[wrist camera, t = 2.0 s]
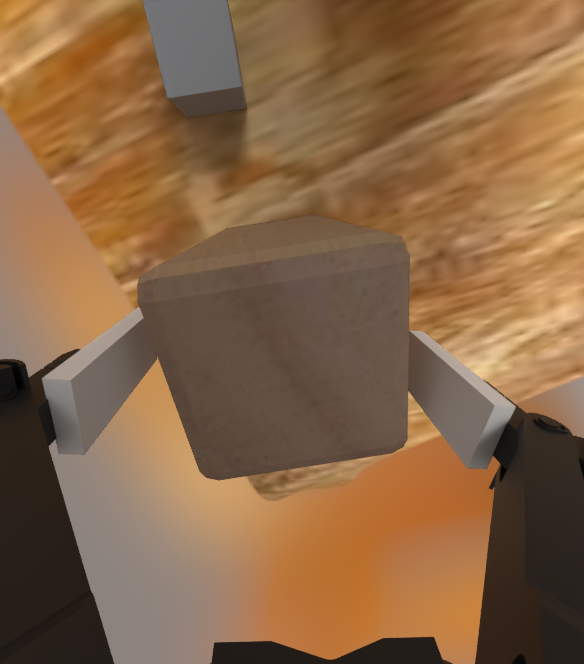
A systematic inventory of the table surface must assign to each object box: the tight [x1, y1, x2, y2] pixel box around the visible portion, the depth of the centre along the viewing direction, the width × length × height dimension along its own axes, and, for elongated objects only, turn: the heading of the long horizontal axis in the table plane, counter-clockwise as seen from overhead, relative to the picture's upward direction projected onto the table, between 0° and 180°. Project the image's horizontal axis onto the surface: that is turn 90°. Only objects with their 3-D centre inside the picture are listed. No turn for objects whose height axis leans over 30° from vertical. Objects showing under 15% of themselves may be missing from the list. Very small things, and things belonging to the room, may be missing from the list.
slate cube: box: [143, 0, 247, 118], centre depth 21 cm, size 5×5×5 cm
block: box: [137, 215, 410, 480], centre depth 21 cm, size 10×10×20 cm
